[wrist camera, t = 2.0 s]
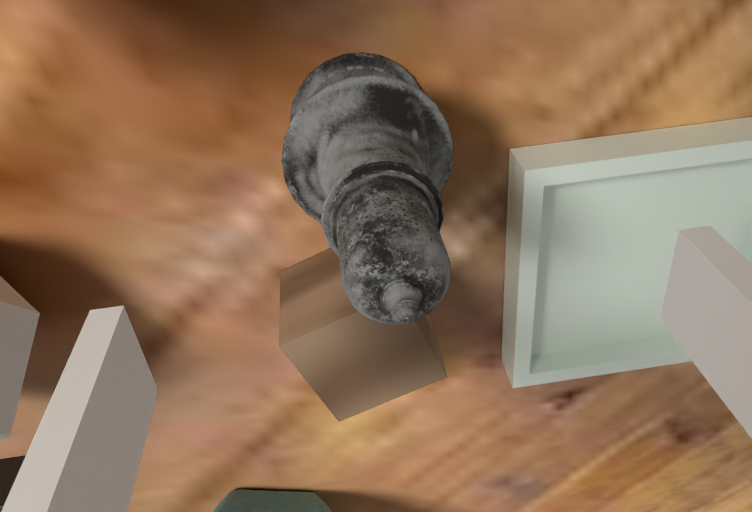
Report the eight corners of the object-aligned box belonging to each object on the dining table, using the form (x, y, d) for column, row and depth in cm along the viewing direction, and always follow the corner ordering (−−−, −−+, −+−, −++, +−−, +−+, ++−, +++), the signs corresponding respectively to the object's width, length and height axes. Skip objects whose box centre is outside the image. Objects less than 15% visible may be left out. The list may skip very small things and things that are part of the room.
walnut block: (280, 269, 28) (279, 346, 24) (381, 223, 27) (398, 293, 23) (332, 342, 30) (338, 421, 26) (425, 301, 30) (447, 377, 25)
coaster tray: (509, 148, 25) (524, 170, 24) (790, 111, 26) (824, 130, 24) (501, 360, 32) (512, 388, 31) (723, 327, 33) (746, 353, 31)
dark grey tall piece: (305, 203, 26) (315, 432, 16) (262, 65, 22) (241, 249, 13) (443, 170, 26) (539, 381, 16) (421, 26, 22) (526, 181, 12)
